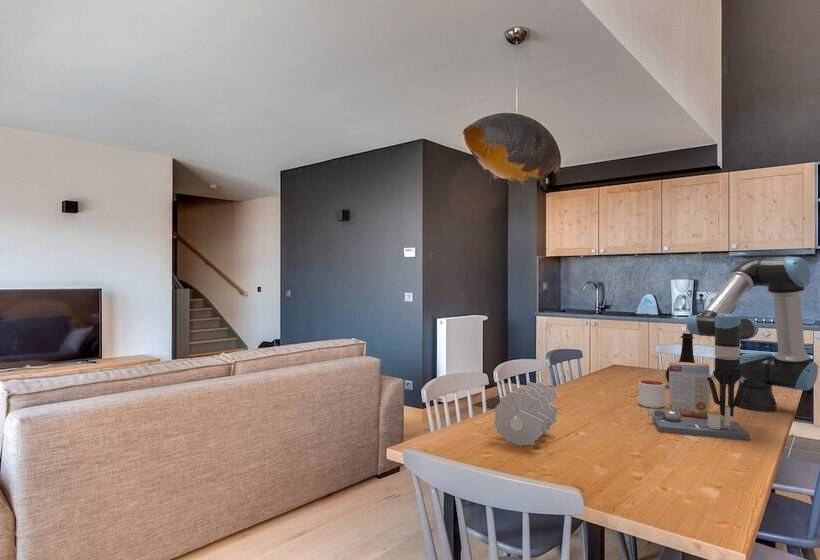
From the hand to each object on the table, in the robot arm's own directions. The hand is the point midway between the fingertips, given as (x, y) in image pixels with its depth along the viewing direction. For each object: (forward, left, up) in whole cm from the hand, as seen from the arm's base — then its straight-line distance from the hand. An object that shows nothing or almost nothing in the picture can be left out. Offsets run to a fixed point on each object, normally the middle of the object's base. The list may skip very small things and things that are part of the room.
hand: (726, 424), depth 175 cm
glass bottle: (-2, -78, -4) cm, 78 cm away
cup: (+19, -36, -4) cm, 41 cm away
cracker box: (+7, -25, -4) cm, 26 cm away
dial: (+19, -7, -1) cm, 20 cm away
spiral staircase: (+66, +27, -4) cm, 72 cm away
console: (+8, -4, -4) cm, 10 cm away
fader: (+4, 0, -1) cm, 4 cm away
